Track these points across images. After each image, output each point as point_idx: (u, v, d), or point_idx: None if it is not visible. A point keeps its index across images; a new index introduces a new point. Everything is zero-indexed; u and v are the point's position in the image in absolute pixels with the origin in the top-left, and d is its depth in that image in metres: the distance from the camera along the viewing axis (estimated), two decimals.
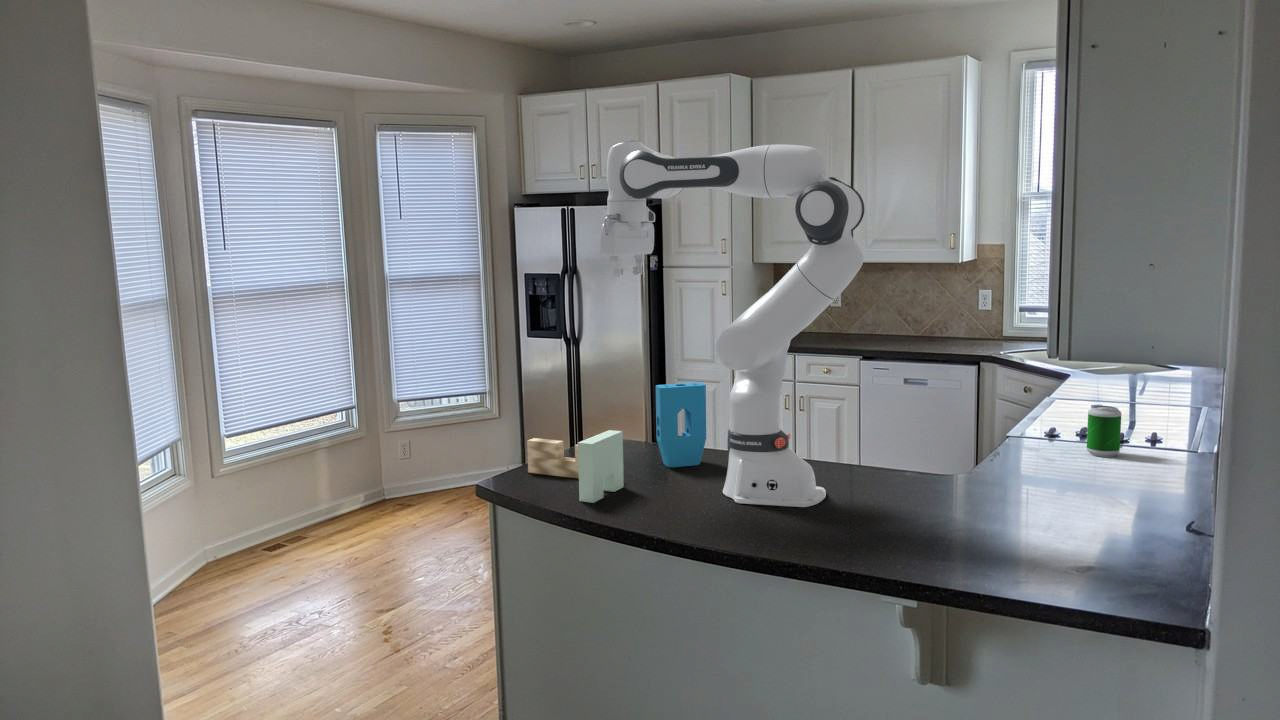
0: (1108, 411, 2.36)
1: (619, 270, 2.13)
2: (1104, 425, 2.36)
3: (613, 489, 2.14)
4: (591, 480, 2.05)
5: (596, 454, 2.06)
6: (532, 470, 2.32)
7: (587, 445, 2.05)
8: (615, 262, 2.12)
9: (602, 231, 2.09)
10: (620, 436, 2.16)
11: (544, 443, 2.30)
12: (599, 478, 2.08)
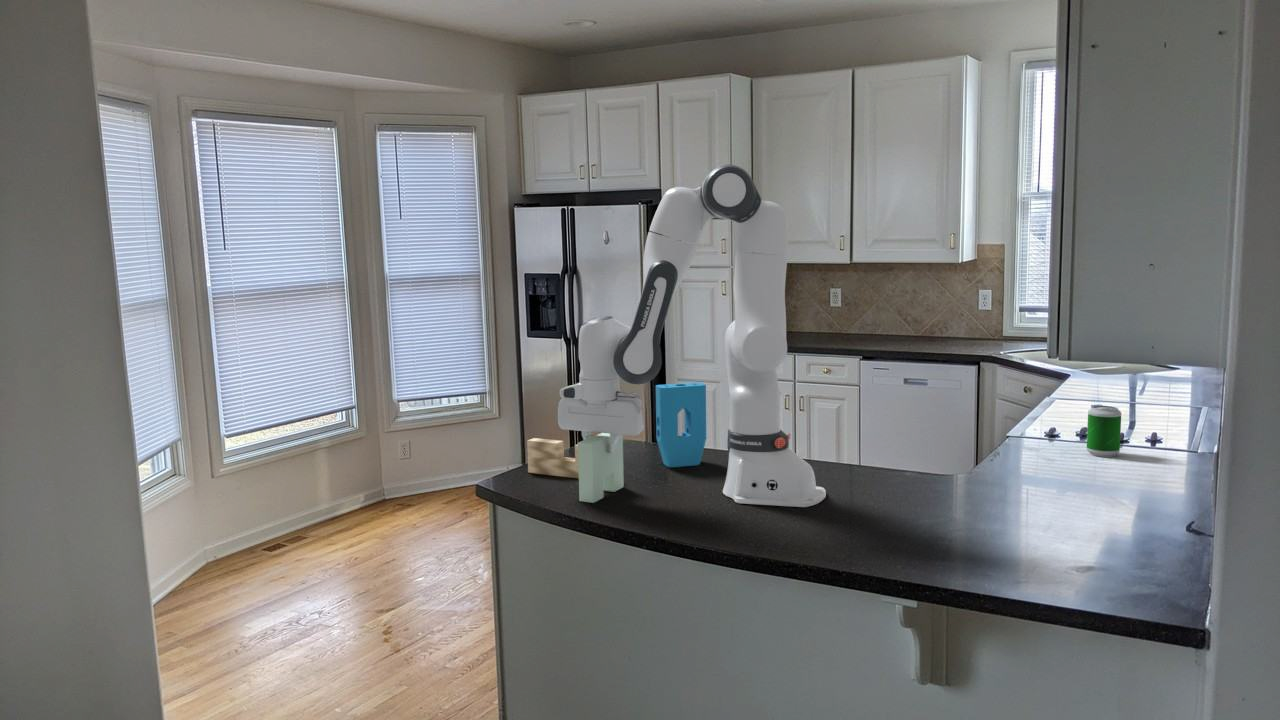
0: (1108, 411, 2.36)
1: (615, 446, 2.10)
2: (1104, 425, 2.36)
3: (613, 489, 2.14)
4: (591, 480, 2.05)
5: (596, 454, 2.06)
6: (532, 470, 2.32)
7: (587, 445, 2.05)
8: (617, 438, 2.09)
9: (636, 410, 2.05)
10: (620, 436, 2.16)
11: (544, 443, 2.30)
12: (599, 478, 2.08)
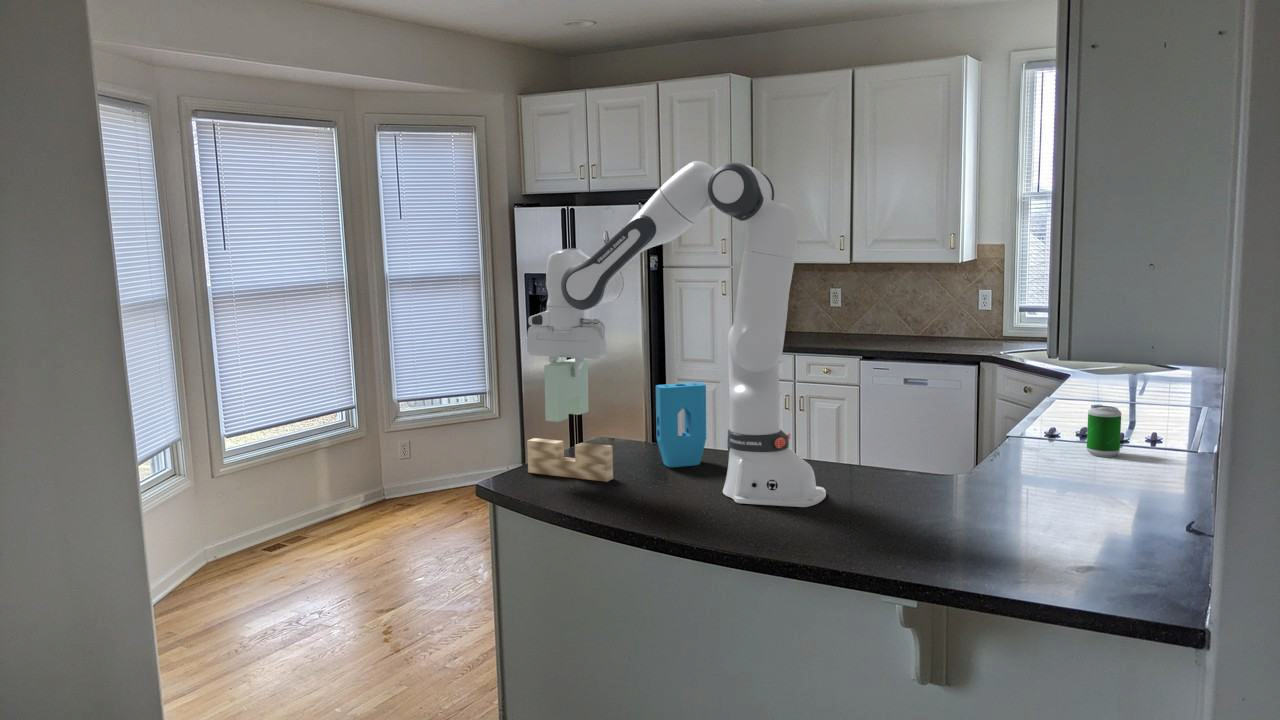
0: (1108, 411, 2.36)
1: (579, 370, 2.25)
2: (1104, 425, 2.36)
3: (578, 412, 2.29)
4: (556, 400, 2.20)
5: (561, 376, 2.20)
6: (532, 470, 2.32)
7: (552, 367, 2.19)
8: (582, 363, 2.24)
9: (598, 335, 2.19)
10: (585, 363, 2.30)
11: (544, 443, 2.30)
12: (564, 399, 2.22)
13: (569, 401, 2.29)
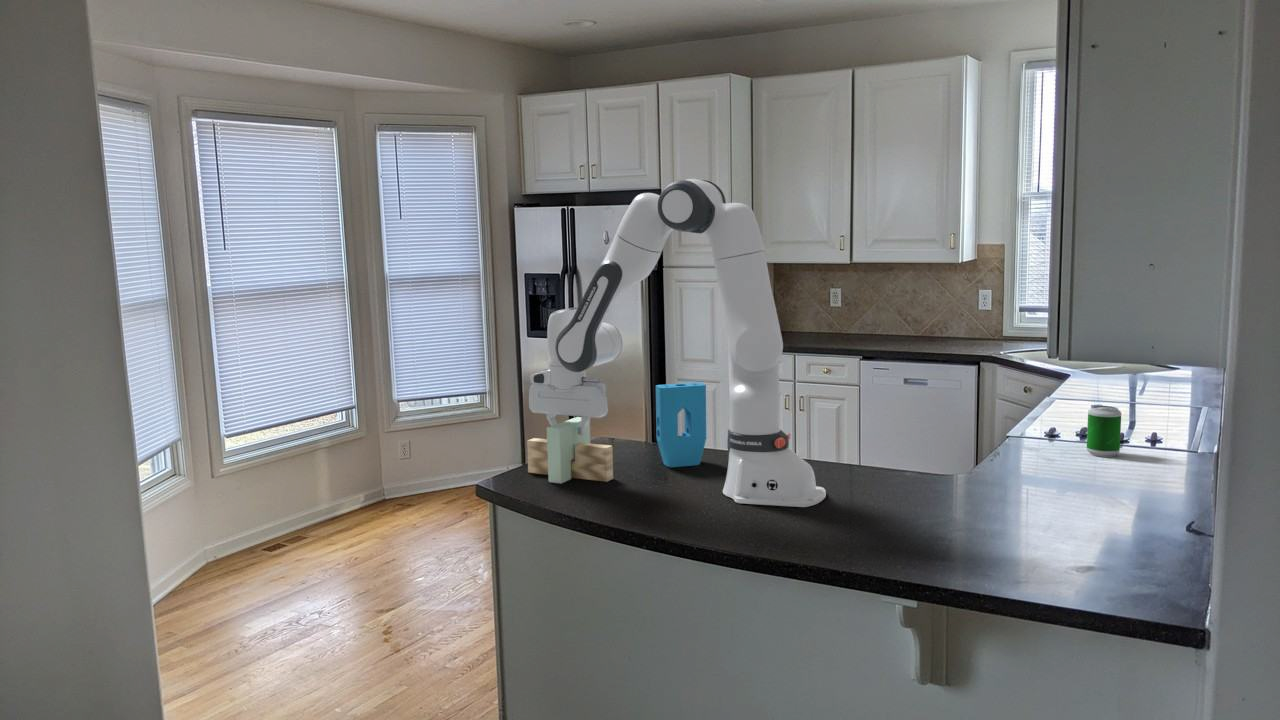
0: (1108, 411, 2.36)
1: (586, 428, 2.26)
2: (1104, 425, 2.36)
3: None
4: (559, 462, 2.22)
5: (563, 438, 2.22)
6: (532, 470, 2.32)
7: (555, 430, 2.21)
8: (588, 421, 2.25)
9: (600, 394, 2.21)
10: None
11: (544, 443, 2.30)
12: (567, 461, 2.24)
13: None
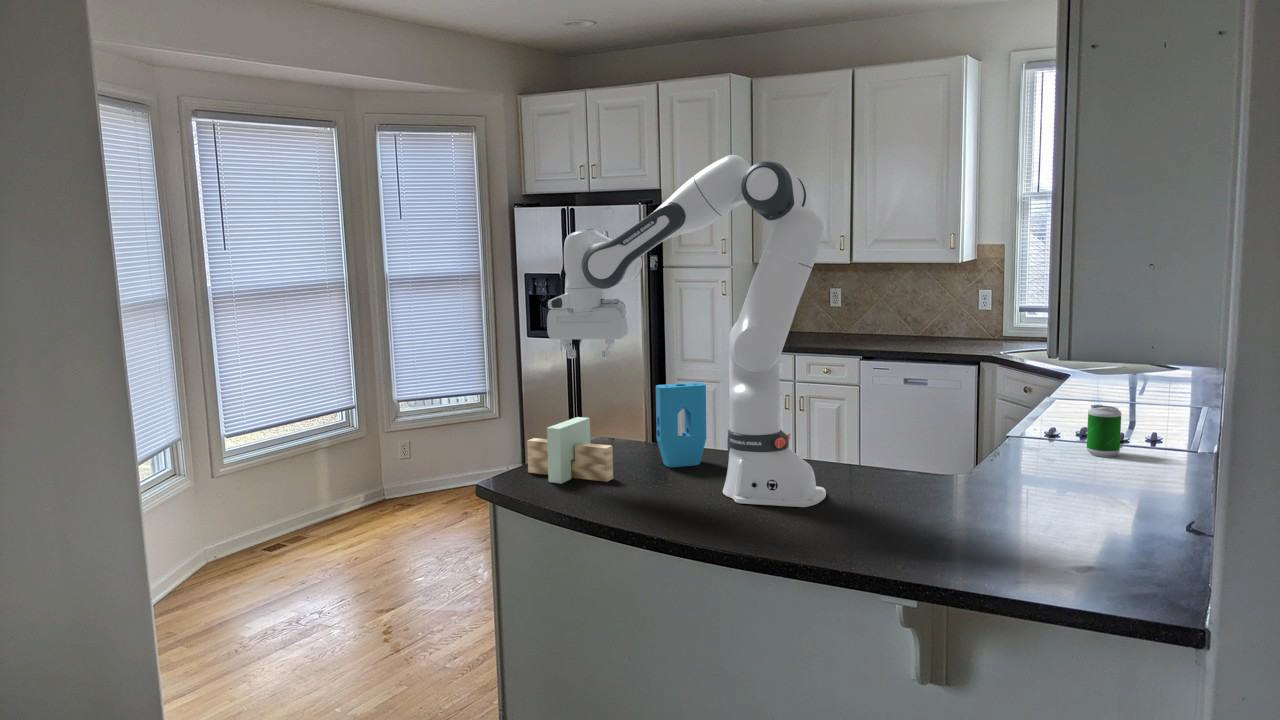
0: (1108, 411, 2.36)
1: (610, 352, 2.23)
2: (1104, 425, 2.36)
3: None
4: (559, 462, 2.21)
5: (563, 438, 2.22)
6: (532, 470, 2.32)
7: (555, 430, 2.21)
8: (612, 344, 2.22)
9: (619, 315, 2.18)
10: (587, 422, 2.32)
11: (544, 443, 2.30)
12: (567, 461, 2.24)
13: None
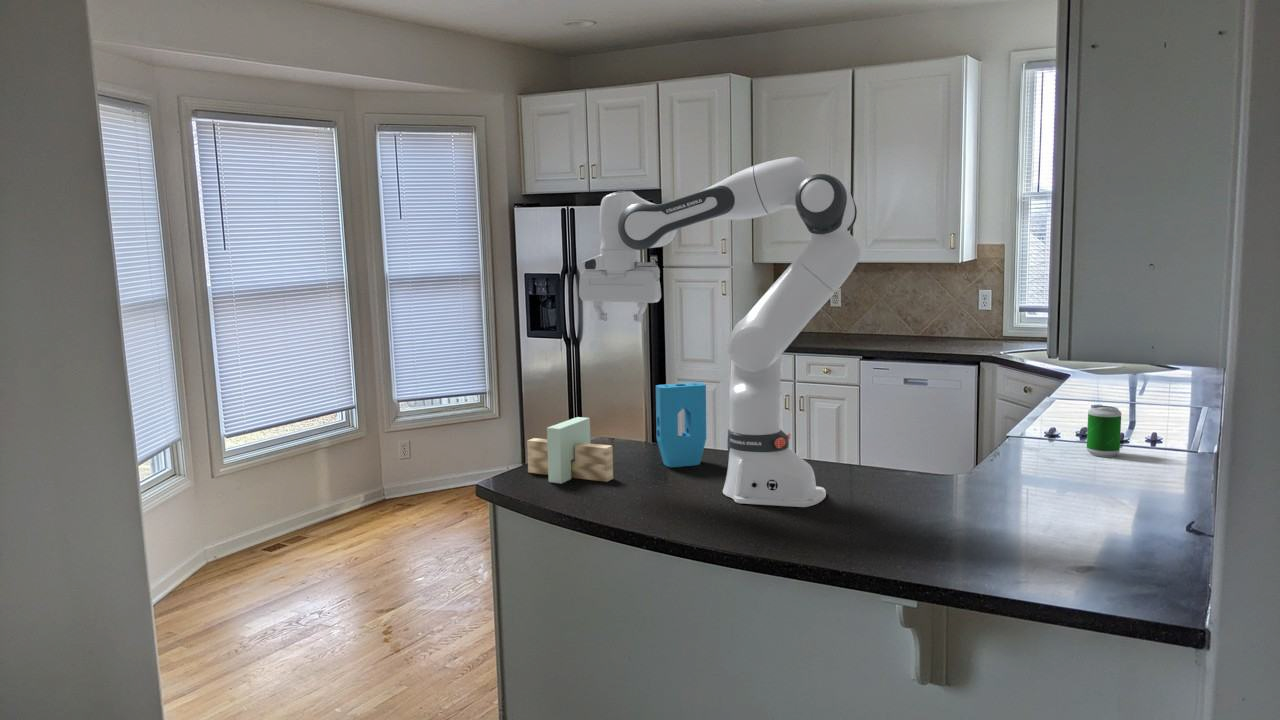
0: (1108, 411, 2.36)
1: (642, 315, 2.21)
2: (1104, 425, 2.36)
3: None
4: (559, 462, 2.21)
5: (563, 438, 2.22)
6: (532, 470, 2.32)
7: (555, 430, 2.21)
8: (644, 308, 2.20)
9: (653, 278, 2.16)
10: (587, 422, 2.32)
11: (544, 443, 2.30)
12: (567, 461, 2.24)
13: None
